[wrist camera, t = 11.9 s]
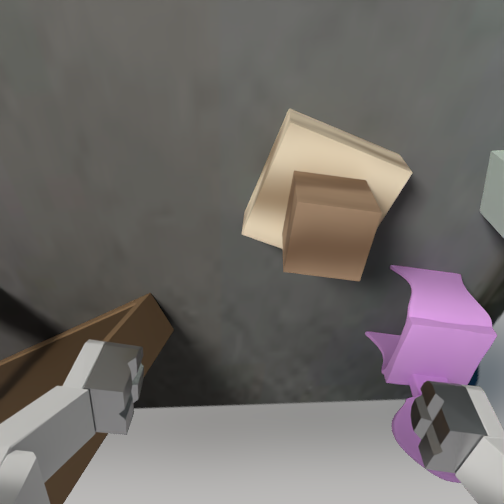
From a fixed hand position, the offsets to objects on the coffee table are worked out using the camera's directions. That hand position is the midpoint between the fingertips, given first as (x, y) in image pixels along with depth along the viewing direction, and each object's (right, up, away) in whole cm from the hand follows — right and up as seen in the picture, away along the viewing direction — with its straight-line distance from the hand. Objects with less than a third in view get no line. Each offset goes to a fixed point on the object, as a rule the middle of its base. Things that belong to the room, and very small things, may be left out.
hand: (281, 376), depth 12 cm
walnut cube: (+4, +7, +18) cm, 19 cm away
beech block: (+4, +9, +21) cm, 23 cm away
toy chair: (+14, -1, +27) cm, 30 cm away
